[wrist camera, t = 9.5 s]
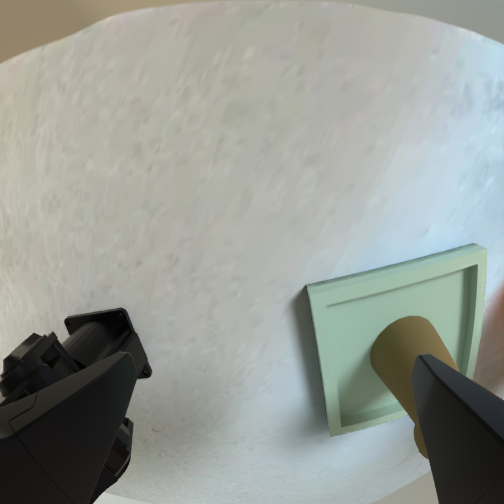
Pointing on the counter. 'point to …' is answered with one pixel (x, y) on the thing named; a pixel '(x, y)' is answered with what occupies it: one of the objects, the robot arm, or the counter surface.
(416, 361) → the robot arm
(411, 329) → the cork
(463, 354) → the tray
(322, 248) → the counter surface
